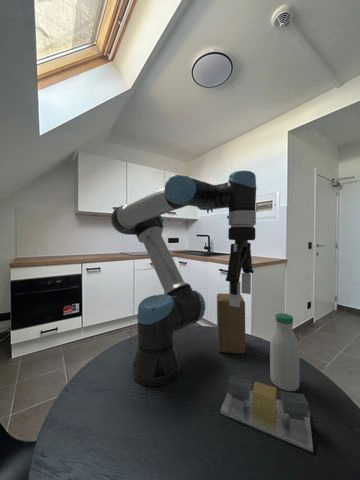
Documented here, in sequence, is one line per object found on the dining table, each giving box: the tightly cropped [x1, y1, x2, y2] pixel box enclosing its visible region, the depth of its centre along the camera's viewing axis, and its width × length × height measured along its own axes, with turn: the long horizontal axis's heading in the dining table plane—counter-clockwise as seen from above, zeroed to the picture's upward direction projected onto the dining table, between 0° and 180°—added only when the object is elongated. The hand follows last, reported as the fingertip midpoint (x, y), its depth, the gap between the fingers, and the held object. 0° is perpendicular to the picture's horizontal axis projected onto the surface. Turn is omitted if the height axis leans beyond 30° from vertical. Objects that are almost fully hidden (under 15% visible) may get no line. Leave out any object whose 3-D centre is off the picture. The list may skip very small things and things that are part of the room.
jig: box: [220, 374, 314, 453], centre depth 49 cm, size 19×10×6 cm, turn 61°
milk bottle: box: [269, 312, 301, 392], centre depth 60 cm, size 8×8×20 cm
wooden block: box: [216, 293, 246, 354], centre depth 80 cm, size 10×10×20 cm
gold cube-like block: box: [251, 381, 277, 421], centre depth 49 cm, size 5×4×5 cm
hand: (240, 299), depth 59 cm, fingers open, 13 cm apart
